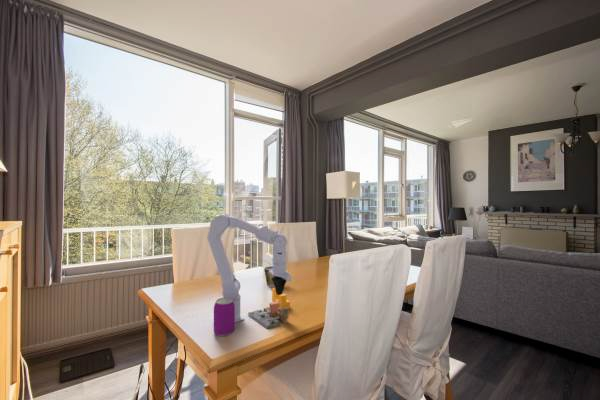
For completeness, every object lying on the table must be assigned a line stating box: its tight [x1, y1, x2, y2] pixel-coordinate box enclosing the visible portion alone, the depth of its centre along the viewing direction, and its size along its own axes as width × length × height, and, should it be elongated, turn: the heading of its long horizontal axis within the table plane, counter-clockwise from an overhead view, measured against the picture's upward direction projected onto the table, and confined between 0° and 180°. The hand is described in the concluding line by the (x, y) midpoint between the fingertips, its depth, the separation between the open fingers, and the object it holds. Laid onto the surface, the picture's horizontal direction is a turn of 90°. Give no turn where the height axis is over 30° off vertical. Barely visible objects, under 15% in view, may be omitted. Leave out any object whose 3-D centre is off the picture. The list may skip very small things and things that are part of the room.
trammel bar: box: [263, 306, 290, 324], centre depth 121 cm, size 9×15×6 cm, turn 38°
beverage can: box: [213, 297, 236, 337], centre depth 109 cm, size 8×8×12 cm
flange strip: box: [247, 309, 282, 330], centre depth 120 cm, size 6×16×2 cm, turn 38°
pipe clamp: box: [271, 287, 291, 309], centre depth 137 cm, size 12×4×6 cm, turn 25°
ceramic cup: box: [263, 265, 275, 288], centre depth 169 cm, size 13×10×10 cm
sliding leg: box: [259, 301, 280, 316], centre depth 122 cm, size 9×2×4 cm, turn 128°
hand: (279, 294), depth 122 cm, fingers closed
